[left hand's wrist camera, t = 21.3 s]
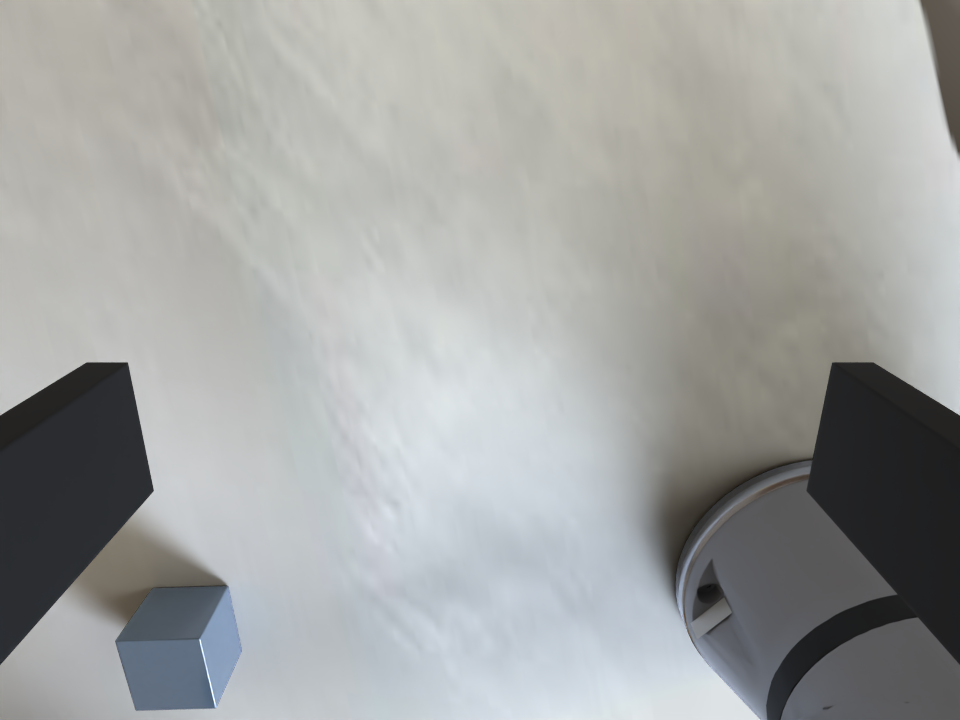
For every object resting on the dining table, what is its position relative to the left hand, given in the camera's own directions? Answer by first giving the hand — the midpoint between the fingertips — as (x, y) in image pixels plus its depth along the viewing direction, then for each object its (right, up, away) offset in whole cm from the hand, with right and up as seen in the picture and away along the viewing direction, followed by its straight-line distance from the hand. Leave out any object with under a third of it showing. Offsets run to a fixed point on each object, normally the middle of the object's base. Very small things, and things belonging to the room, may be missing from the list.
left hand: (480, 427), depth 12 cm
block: (-17, -15, +27) cm, 35 cm away
